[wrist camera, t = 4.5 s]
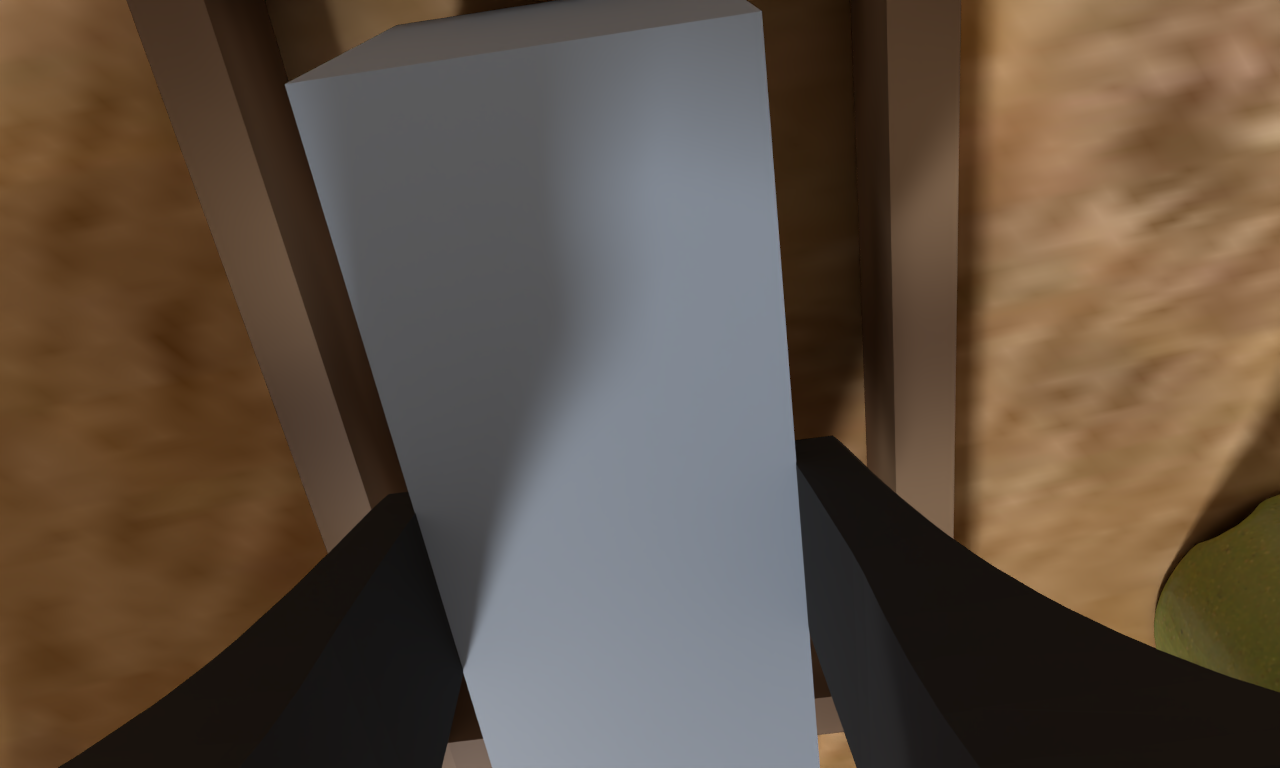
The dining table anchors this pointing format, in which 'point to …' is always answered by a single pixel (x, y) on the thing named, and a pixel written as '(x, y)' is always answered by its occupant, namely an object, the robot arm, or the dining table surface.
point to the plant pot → (1228, 602)
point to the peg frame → (328, 331)
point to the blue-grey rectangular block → (584, 366)
